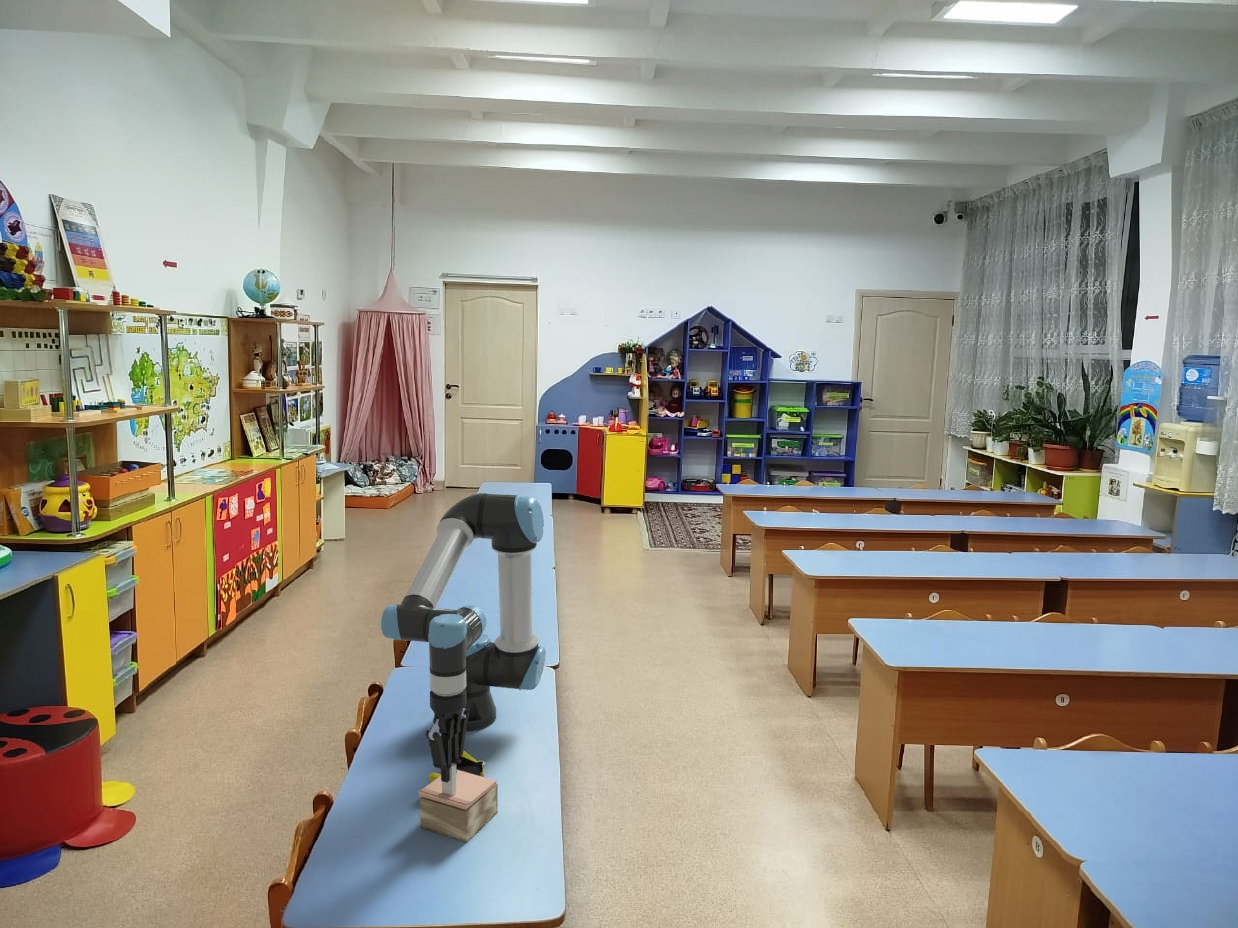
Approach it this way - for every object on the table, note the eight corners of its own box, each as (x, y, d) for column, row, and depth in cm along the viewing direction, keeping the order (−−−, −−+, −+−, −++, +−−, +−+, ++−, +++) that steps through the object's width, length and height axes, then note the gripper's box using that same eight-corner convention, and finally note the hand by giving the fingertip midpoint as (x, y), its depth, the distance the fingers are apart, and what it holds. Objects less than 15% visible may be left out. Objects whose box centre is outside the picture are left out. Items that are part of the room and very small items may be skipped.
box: (452, 799, 191) (452, 771, 189) (497, 812, 186) (497, 783, 185) (420, 827, 180) (419, 797, 179) (467, 842, 175) (467, 811, 174)
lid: (451, 771, 189) (451, 767, 189) (496, 783, 184) (496, 779, 184) (418, 795, 178) (418, 790, 178) (465, 809, 173) (465, 805, 173)
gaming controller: (425, 797, 191) (466, 804, 189) (425, 775, 190) (465, 782, 188) (452, 765, 206) (490, 770, 203) (452, 744, 205) (490, 749, 203)
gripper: (451, 673, 181) (452, 773, 185) (414, 697, 169) (415, 803, 173) (480, 680, 178) (480, 781, 182) (444, 705, 167) (445, 812, 170)
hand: (449, 792), depth 178 cm, fingers closed
